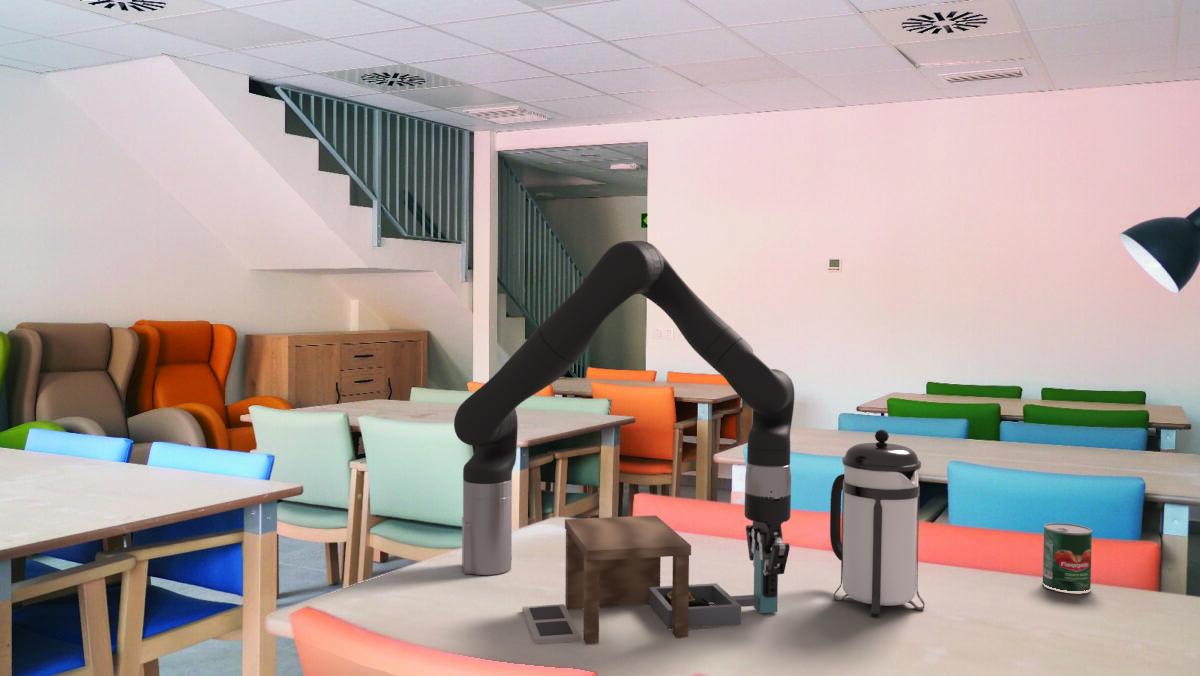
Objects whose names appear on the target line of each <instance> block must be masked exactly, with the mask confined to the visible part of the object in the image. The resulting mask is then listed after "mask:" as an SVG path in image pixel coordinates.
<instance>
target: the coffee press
mask: <svg viewBox="0 0 1200 676" xmlns="http://www.w3.org/2000/svg"><path fill="white" fill-rule="evenodd" d="M889 437H890V435H889V433H888V431H887V430H885V429H879V430H877V431H876V432H875V434H874V438H875V440H876V441H877V442H863V443H858V444H856V445H853V446H851V447H850V448H848V449H847V451H846V452H845V455H844V456H843V457H842V458H841V459H842V466H843V467H844V473H842V474H839V475H837V476H836V478H835V479H834V481H833V483H832V485H831V491H830V505H829V506H830V509H829V512H830V514H829V515H830V516H829V517H830V518H829V535H830V537H829V539H830V545H831V548H832V551H833V553H834V556H836V557H837V559H838V560H839V561H841V563H840V564H841V566H840V568H841V569H840V584H839V586H838V587H837V588H836V590H835V591H834V593H833V599H834V600H835V601H836V602H840V601H842V600H844V599H845V598H847V597H849V598H851V599H853V600H855V601H858V602H860V603H865V604H869V605H871V609H870V611H871V612H870V613H871V614H870V616H871V617H874V618H881V606H886V607H887V606H891V607H892V606H899V605H905V604H908V603H909V604H910V605H911V606H913V608H915V609H916V610H917V611H923V610H924V609H925V601H924V599H923V598H922V597H921V595H920V594H919V591H918V589H919V586H918V582H919V581H918V579H919V578H918V576H919V575H918V574H919V573H918V572H919V535H920V534H919V526H920V488H921V487H920V483H919V471H920V470H921V468H922V462H921V460H919V458H918V455H917V453H916V452H915V451H914V450H913V449H911V448H909V447H908V446H904V445H901V444H897V443H896V444H894V443H890V442H889V443H887V441H888V440H889ZM841 587H842V588H843V591H844V595H843V596H841V597H838V596H836V594H837V592H838V591H839V590H840V588H841ZM915 596H917V597H918V599H919V601H920V602H921V603H922V604H923V605H922V606H918V605H916V603H915V602H914V601H912V600H913V599H914V598H915Z"/></svg>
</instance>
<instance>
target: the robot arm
mask: <svg viewBox="0 0 1200 676" xmlns="http://www.w3.org/2000/svg"><path fill="white" fill-rule="evenodd" d="M638 294H639V295H642V296H643V297H645V298H646V299H648V300H649V301H651V302H653V303H654V304H655V305H656V306H658V307H659V308H660V309H661V310H662V311H663V312H664V313H665V314H666V315H667V316H668V317H669V318H670V319H671V321H672V322H673V323H674V325H675V326H676V328H677V329H678V330H679V332H680V333H681V335H682V336H683V338H684V339H685V341H686V342H687V343H688V344H689V346H690V347H691V348H692V349H693V350H694V352H696V354H698V356H700V357H701V358H702V359H703V360H704V361H705V362H706V363H707V364H708V365H710V367H712V368H713V369H714V371H716V372H717V373H719V374H720V375H721V376H722V377H723V378H724V379H725V380H726V382H727V383H728V385H729V386H730V387H731V388H732V389H733V390H734V392H735V393H736V394H737V395H738V397H740V399H741V400H742V401H744V403H745V404H746V405H747V406H748V407H750V408H751V409H752V424H751V425H752V426H751V428H750V430H749V432H748V435H747V449H746V451H747V452H746V455H747V456H746V470H745V476H744V477H745V478H744V479H745V480H744V516H745V518H746V519H747V520H749V521H752V525H751V524H749V525H745V532H746V533H745V534H746V540H747V548H748V549H747V550H748V557H749V561H752V565H753V567H754V555H755V549H757V548H758V549H759V551H760V559H761V560H762V561H763V573H764V574H763V596H765V597H766V598H771V597H776V596H777V575H778V576H779V575H784V574H785V570H786V565H787V561H788V556H789V552H790V546H791V545H790V543H789V542H784V538H783V537H784V536H783V530H782V524H783V523H786V522H788V521H790V519H791V511H792V510H791V505H792V504H791V503H792V472H791V428H792V424H793V423H792V422H793V415H794V408H795V407H794V406H795V387H794V383H793V381H792V378H791V377H790V376H789V375H788V374H787V373H786V372H784V371H783V370H780V369H776V368H774V369H773V368H770V367H769V366H768V365H767V364H766V363H764V361H763V360H761V359H760V358H759V357H758V356H757V355H756V354H755V353H754V350H753V348H752V346H751V345H750V344H749V342H748V341H747V340H745V338H743V337H742V336H741V335H740V334H739V333H738V332H736V330H735V329H734V328H732V327H731V326H730V325H729V324H728V323H727V322H725V320H723V319H722V318H721V317H720V316H719V315H718V314H717V313H716V312H714V311H713V310H712V309H711V308H710V307H709V306H708V305H707V304H706V303H705V302H704V301H703V300H702V299H701V298H700V297H699V296H698V294H696V293H695V292H694V291H693V290H692V289H691V288H690V287H689V286H688V285H687V283H686V282H685V281H684V280H683V279H682V277H681V276H680V275H679V274H678V273H677V271H676V270H675V268H673V266H672V265H671V264H670V262H669V261H668V260H667V259H666V257H665V256H664V255H663V254H662V252H661V251H660V250H659V248H657V247H656V246H655V245H653V244H652V243H650V242H648V241H644V240H627V241H626V240H625V241H620V242H618V243H616V244H613V245H612V246H610V248H608V249H607V250H606V251H605V253H603V255H602V256H601V257H600V259H599V260H598V261H597V262H596V264H595V265H594V267H593V268H592V269H591V271H590V272H589V274H588V275H587V276H586V278H585V279H584V280H583V282H581V284H580V285H579V287H577V289H576V290H575V291H574V292H573V293H572V294H571V295H570V296H569V297H568V298H566V299H565V300H564V301H563V302H562V303H561V304H560V305H559V306H558V307H557V308H556V309H555V310H554V311H553V312H552V313H551V314H550V315H549V317H548V318H546V319H545V320H544V321H543V322H542V323H541V324H540V325H539V326H538V327H537V328H536V329H535V331H533V333H531V335H530V336H529V337H528V338H527V339H526V340H525V341H524V343H522V345H521V346H520V347H519V348H518V349H517V350H516V351H515V352H514V353H513V354H512V356H511V357H509V359H507V361H506V362H505V363H504V364H503V365H502V366H501V368H500V369H499V370H498V371H497V372H496V373H495V374H494V375H493V376H492V377H491V378H490V379H489V380H488V381H486V382H485V383H484V384H483V385H482V386H481V387H479V388H478V389H477V390H476V391H475V392H473V393H472V394H471V395H469V396H468V398H466V399H465V400H464V401H463V402H462V403H461V404H460V405H459V407H458V409H457V410H456V412H455V416H454V420H453V429H454V433H455V434H456V437H457V438H458V440H460V441H461V442H462V443H463V444H465V445H467V446H474V447H475V450H474V452H473V454H472V456H471V458H470V459H469V460H468V461H467V462H466V463H465V464H464V466H463V469H462V471H463V472H462V481H463V482H462V483H463V484H462V512H463V513H462V516H461V531H462V532H461V536H462V537H461V566H462V570H463V574H464V575H467V574H472V575H479V576H480V575H481V576H492V575H498V574H504V573H507V572H509V571H510V570H511V569H512V559H513V558H512V557H513V555H512V545H513V544H512V541H513V540H512V536H513V535H512V529H513V525H512V522H513V521H512V520H513V519H512V517H513V516H512V513H513V510H512V509H513V507H512V505H513V503H512V502H513V501H512V499H513V497H512V495H513V491H512V488H513V486H512V485H513V484H512V482H513V480H512V479H513V470H514V468H515V467H514V466H515V464H516V460H517V448H518V429H519V428H518V427H519V426H518V424H519V422H518V414H517V411H516V409H517V407H519V405H521V404H522V403H523V402H525V401H526V400H528V399H529V398H531V397H533V396H534V395H536V394H537V393H539V392H541V391H542V390H544V389H545V388H547V387H548V386H550V385H552V384H553V383H554V382H557V380H559V379H560V378H561V377H562V376H563V375H564V374H566V373H567V372H568V371H569V370H570V369H571V368H572V367H573V366H574V364H575V363H576V362H578V361H579V359H581V357H582V356H583V355H584V354H585V352H586V351H587V350H588V348H589V347H590V345H591V343H592V341H593V340H594V337H595V336H596V333H597V332H598V330H599V328H600V327H601V325H602V323H603V322H605V320H606V319H607V318H608V317H609V316H610V315H611V314H612V313H613V312H614V311H615V310H616V309H618V307H620V306H621V305H622V304H624V303H625V302H626V301H627V300H628V299H630V298H631V297H633V296H635V295H638ZM766 553H771V555H766ZM768 561H769V564H768Z"/></svg>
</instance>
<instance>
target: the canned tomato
mask: <svg viewBox="0 0 1200 676" xmlns="http://www.w3.org/2000/svg"><path fill="white" fill-rule="evenodd" d="M1092 542H1093V530H1092V529H1091V528H1089V527H1087V526H1084V525H1080V524H1073V523H1065V522H1051V523H1050V522H1049V523H1045V524H1044V525H1043V549H1042V551H1043V552H1042V553H1043V554H1042V555H1043V556H1042V562H1043V563H1042V583H1044V584H1045V585H1047V586H1049V587H1052V588H1056V589H1060V590H1067V591H1084V590H1085V591H1086V590H1089V589H1091V587H1092V586H1091V583H1092V582H1091V581H1092V551H1093V549H1092V547H1093V546H1092Z"/></svg>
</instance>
